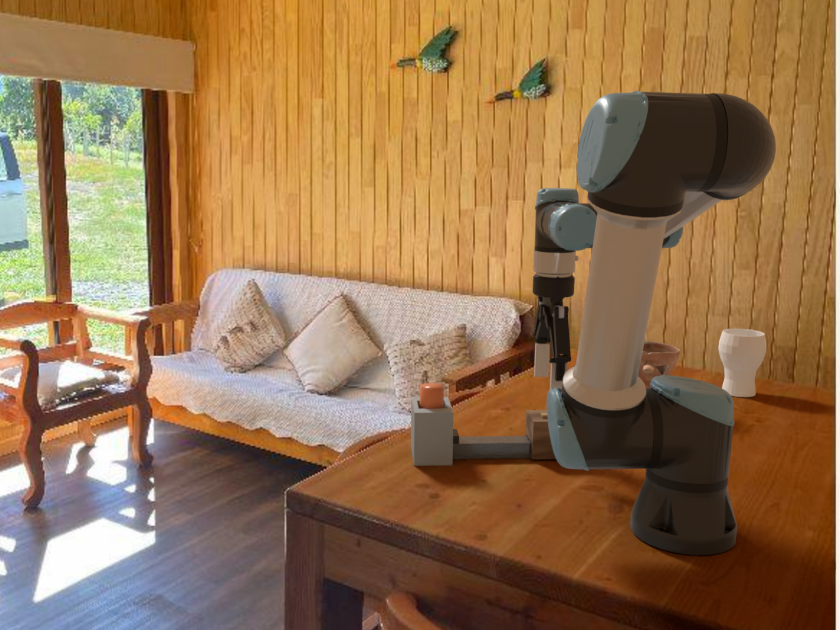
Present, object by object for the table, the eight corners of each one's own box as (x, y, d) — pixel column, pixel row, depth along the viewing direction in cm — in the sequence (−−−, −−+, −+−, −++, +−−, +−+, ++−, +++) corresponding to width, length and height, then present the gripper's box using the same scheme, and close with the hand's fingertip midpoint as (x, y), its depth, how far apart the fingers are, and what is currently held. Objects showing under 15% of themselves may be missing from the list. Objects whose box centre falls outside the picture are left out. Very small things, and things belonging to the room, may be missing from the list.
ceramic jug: (679, 421, 176) (684, 356, 173) (610, 413, 180) (614, 350, 178) (681, 400, 193) (686, 341, 190) (618, 393, 197) (622, 336, 195)
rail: (577, 457, 154) (578, 434, 153) (450, 459, 152) (451, 436, 151) (572, 450, 157) (573, 427, 157) (448, 451, 156) (448, 429, 155)
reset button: (444, 420, 150) (445, 389, 149) (420, 421, 150) (420, 389, 149) (442, 413, 155) (442, 382, 153) (418, 413, 154) (419, 383, 153)
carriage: (569, 458, 152) (571, 418, 150) (532, 459, 151) (533, 418, 150) (560, 446, 159) (562, 406, 157) (524, 446, 158) (526, 407, 157)
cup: (709, 386, 204) (714, 327, 201) (752, 387, 203) (757, 328, 200) (723, 398, 193) (728, 336, 190) (768, 399, 193) (774, 337, 190)
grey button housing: (452, 465, 149) (453, 412, 147) (413, 465, 148) (414, 412, 147) (446, 446, 159) (447, 396, 157) (410, 446, 158) (411, 397, 156)
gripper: (593, 285, 137) (586, 406, 141) (558, 264, 161) (553, 368, 165) (548, 285, 136) (543, 407, 141) (520, 264, 161) (516, 368, 165)
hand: (549, 386), depth 153 cm, fingers open, 13 cm apart
